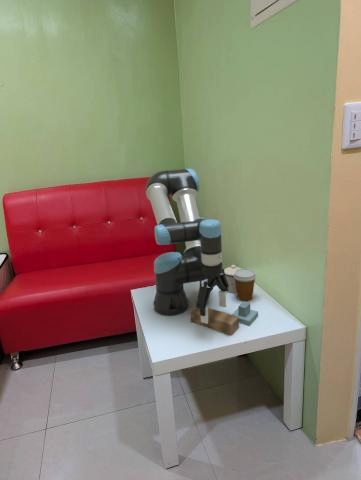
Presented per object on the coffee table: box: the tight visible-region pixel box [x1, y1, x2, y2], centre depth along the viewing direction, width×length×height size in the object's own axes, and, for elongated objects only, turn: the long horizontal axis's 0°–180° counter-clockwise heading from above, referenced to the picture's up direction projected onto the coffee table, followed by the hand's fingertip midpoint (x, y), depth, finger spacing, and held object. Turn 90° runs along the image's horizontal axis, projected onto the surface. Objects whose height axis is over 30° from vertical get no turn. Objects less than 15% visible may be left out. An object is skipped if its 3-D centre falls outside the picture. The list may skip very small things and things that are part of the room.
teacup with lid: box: [224, 264, 242, 294], centre depth 160 cm, size 12×9×12 cm
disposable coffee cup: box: [234, 268, 257, 302], centre depth 152 cm, size 10×10×12 cm
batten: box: [189, 306, 240, 336], centre depth 135 cm, size 18×6×5 cm, turn 54°
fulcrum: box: [231, 301, 259, 327], centre depth 138 cm, size 8×8×6 cm
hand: (214, 314), depth 134 cm, fingers open, 13 cm apart
